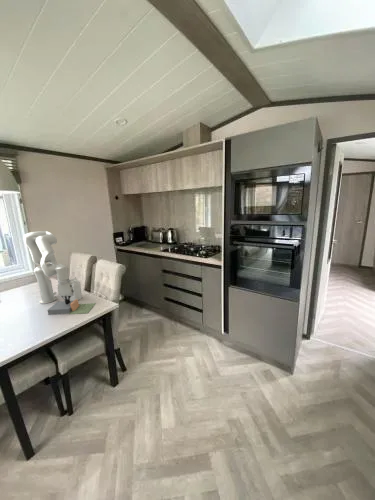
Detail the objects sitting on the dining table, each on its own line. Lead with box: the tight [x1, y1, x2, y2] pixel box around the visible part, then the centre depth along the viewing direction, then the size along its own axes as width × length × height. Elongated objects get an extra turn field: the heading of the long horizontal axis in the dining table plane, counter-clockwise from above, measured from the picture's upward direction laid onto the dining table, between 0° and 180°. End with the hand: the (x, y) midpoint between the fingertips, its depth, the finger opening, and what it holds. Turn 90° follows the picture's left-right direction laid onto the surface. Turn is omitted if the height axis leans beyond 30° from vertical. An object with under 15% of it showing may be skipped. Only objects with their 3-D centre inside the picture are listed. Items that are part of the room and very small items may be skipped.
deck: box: [46, 300, 73, 316], centre depth 172 cm, size 14×16×4 cm
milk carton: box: [70, 277, 83, 301], centre depth 188 cm, size 7×7×19 cm
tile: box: [70, 299, 80, 311], centre depth 172 cm, size 8×6×2 cm
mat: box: [68, 302, 96, 315], centre depth 172 cm, size 16×14×1 cm
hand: (68, 303), depth 171 cm, fingers closed
